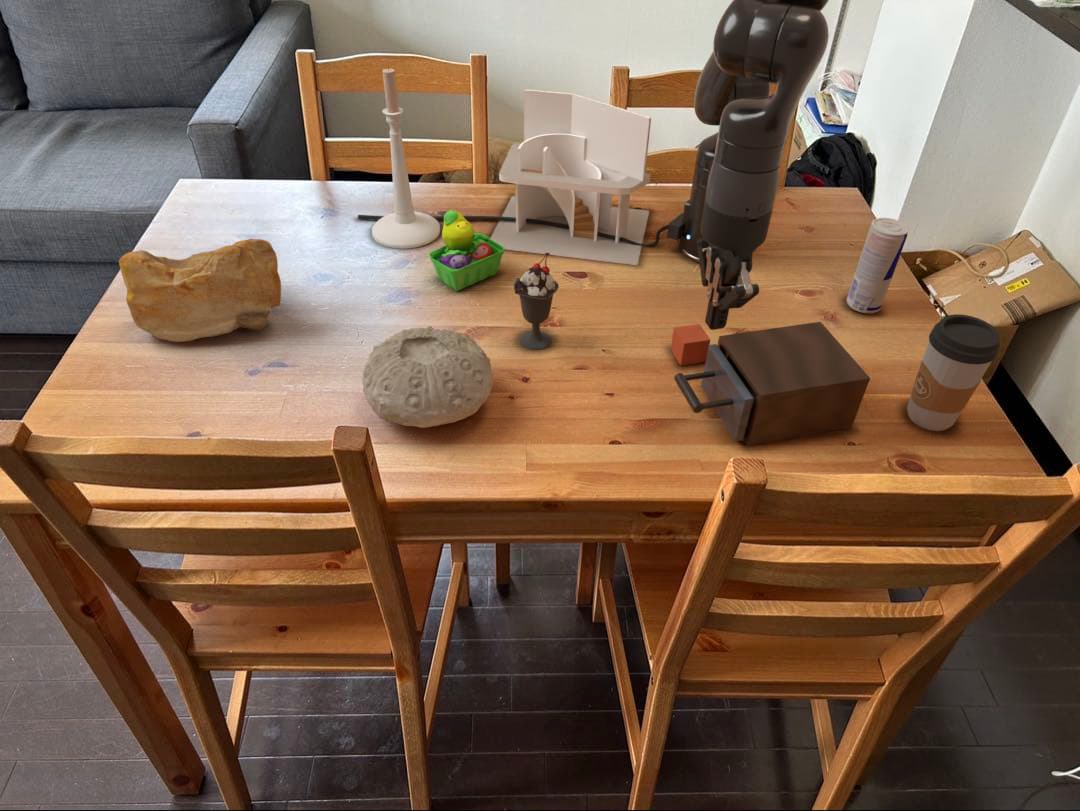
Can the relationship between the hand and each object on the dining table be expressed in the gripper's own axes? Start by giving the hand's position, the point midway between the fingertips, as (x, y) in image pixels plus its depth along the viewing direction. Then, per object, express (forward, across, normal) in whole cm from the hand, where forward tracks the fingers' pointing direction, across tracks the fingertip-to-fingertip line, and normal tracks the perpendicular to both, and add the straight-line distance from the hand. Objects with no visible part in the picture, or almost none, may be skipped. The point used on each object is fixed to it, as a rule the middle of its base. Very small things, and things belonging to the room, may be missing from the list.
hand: (714, 325), depth 99 cm
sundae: (+16, -23, -17) cm, 33 cm away
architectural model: (+16, -57, -2) cm, 59 cm away
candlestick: (+16, -62, -33) cm, 72 cm away
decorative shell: (+16, -12, -35) cm, 41 cm away
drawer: (+15, 0, +7) cm, 17 cm away
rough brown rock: (+16, -41, -65) cm, 78 cm away
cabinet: (+16, 0, +12) cm, 20 cm away
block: (+16, -14, +4) cm, 22 cm away
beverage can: (+16, -20, +38) cm, 46 cm away
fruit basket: (+16, -44, -25) cm, 53 cm away
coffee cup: (+16, +7, +32) cm, 37 cm away
